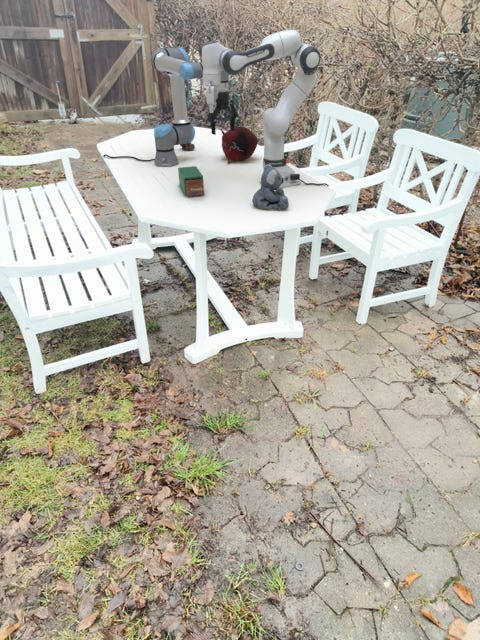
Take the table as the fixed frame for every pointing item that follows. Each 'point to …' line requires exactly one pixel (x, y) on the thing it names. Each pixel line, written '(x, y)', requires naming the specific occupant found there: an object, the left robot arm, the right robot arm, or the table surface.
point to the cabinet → (188, 176)
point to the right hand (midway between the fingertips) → (212, 111)
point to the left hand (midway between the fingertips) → (223, 132)
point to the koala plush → (270, 191)
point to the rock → (187, 146)
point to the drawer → (194, 187)
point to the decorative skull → (238, 144)
